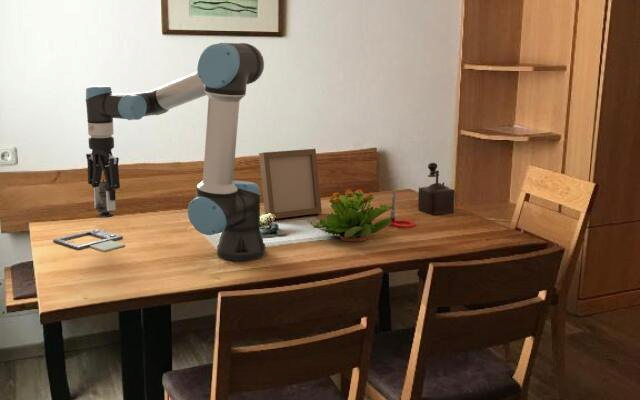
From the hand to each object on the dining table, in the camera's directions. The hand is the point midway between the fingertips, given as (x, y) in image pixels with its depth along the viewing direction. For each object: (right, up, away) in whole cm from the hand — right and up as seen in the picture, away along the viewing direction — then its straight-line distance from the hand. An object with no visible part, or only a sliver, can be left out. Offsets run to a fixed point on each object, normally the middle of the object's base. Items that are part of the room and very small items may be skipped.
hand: (105, 208), depth 222 cm
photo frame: (+56, -3, +47) cm, 73 cm away
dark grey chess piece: (0, -3, +1) cm, 3 cm away
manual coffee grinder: (+113, -2, +56) cm, 126 cm away
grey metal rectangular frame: (-9, -11, +10) cm, 17 cm away
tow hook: (+98, -7, +34) cm, 104 cm away
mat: (0, -12, +3) cm, 13 cm away
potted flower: (+80, -11, +16) cm, 83 cm away
